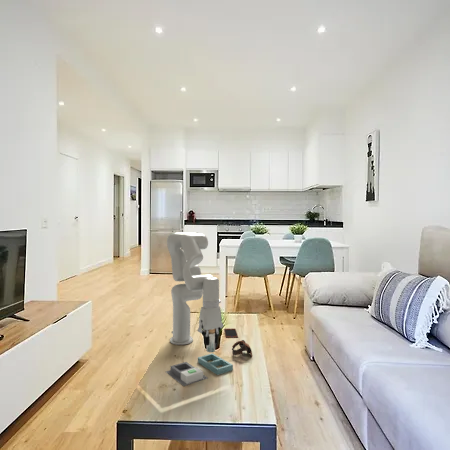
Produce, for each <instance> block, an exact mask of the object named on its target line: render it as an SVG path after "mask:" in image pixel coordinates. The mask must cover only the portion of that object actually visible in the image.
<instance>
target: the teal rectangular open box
mask: <svg viewBox="0 0 450 450" xmlns="http://www.w3.org/2000/svg"><path fill="white" fill-rule="evenodd" d="M211 360H212V361H211ZM197 363H198V364H200V365H201V366H203V367H204V368H206V369H207V370H209V371H210V372H212V373H213V374H215V375H217V376H219V375H221V374H225V373H229V372H231V371H233V370H234V365H233V364H232V363H231V362H229V361H227V360H225V359H224V358H222V357H220V356H218V355H217V354H214V352H211V353H208V354H205V355H202V356H198V357H197ZM219 366H222V367H219Z"/></svg>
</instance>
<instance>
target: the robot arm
mask: <svg viewBox="0 0 450 450" xmlns="http://www.w3.org/2000/svg"><path fill="white" fill-rule="evenodd" d="M166 245H167V250H168V252H169V256H170V258H171V262H170V263H171V271H172V278H173V280H174V281H175V282H179V283H178V284H175V285H174V286H172V287H171V291H170V292H171V293H170V294H171V301H172V331H171V335H172V337H170V339H169V342H170V343H171V344H172V345H177V346H184V345H188V344H191V343H192V342H193V341H194V339H193V337H192V336H191V307H190V305H188V303H187V302H190V301H197V300H200V299H201V298H202V306H201V308H200V311H199V316H198V319H199V320H198V328H197V330H196V331H197V332H198V333H200V334H201V335H202V336H203V343H204V345H209V337H208V333H209V330H211V329H213V328H215V344H218V338H219V336H218V335H219V333H220V331H221V329H222V328H223V327H224V324H223V322H222V320H223V319H222V310H221V306H220V304H221V303H222V302H221V299H220V279H219V278H218V277H216V276H214V275H212V273H211V274H210V273H209V274H202V272H201V268H200V266H199V264H201V263H202V262H203V260H204V256H203V252H202V250H206V249H207V248H208V246H209V241H208V237H207V236H206V235H205V234H204V233H199V232H194V231H193V232H189V231H188V232H183V231H182V232H172V233H170V234H169V235H168V236H167V241H166ZM180 282H184V283H180Z"/></svg>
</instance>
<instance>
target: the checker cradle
mask: <svg viewBox="0 0 450 450" xmlns="http://www.w3.org/2000/svg"><path fill="white" fill-rule="evenodd" d="M169 368H170V370H167V371H165V373H166V374H168V375H169V376H170V377H171V378H173V379H174V380H175V381H176V382H177V383H179V384H181V386H183V387H186V386H188V385H192V384H196V383H198V382H201V381H203V380H208V379H209V377H208V376H206V375H205V374H204V371H203V370H201V369H200V368H199V367H197V366H196V367H195V366H193V365H192V364H190V362H189V363H188V362H187V361H183V362H180V363H177V364H173V365H170V367H169Z"/></svg>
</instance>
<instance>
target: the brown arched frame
mask: <svg viewBox="0 0 450 450" xmlns="http://www.w3.org/2000/svg"><path fill="white" fill-rule="evenodd" d="M238 345H239V348H238V349H235V348H236V347H237V346H238ZM231 350H232V351H231V353H232V356H240V355H242V356H243V355H244V353H243V352H246V353H247V354H249V355H250V357H251V358H252V357H253V351H252V348H251V346H250V345H249V344H248V343H247V342H246V341H245V339H241V340H239V341H236V342H235V343H234V344H233V345H232V348H231Z"/></svg>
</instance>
